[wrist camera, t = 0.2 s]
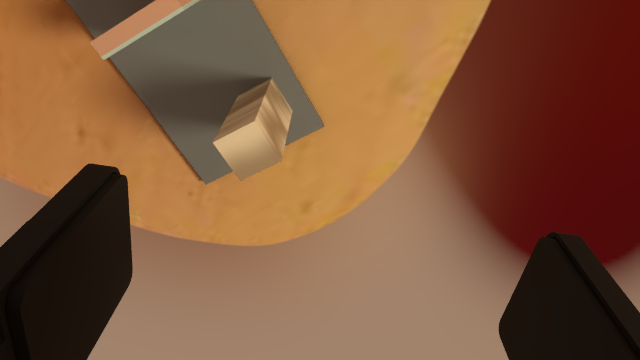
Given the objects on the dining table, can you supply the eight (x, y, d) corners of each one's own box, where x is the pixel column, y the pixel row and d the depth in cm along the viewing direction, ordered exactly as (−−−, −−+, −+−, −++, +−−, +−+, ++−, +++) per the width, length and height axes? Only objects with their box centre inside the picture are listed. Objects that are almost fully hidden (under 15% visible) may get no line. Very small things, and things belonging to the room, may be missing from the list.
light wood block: (238, 95, 46) (212, 142, 37) (272, 77, 45) (254, 120, 36) (259, 128, 48) (240, 180, 39) (292, 111, 47) (281, 161, 38)
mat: (37, -42, 41) (33, -42, 41) (171, -140, 37) (168, -141, 37) (207, 181, 52) (205, 184, 52) (323, 124, 48) (323, 126, 48)
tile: (129, 21, 43) (90, 42, 36) (198, -23, 41) (170, -10, 34) (140, 37, 44) (103, 60, 37) (209, -6, 42) (183, 10, 35)
